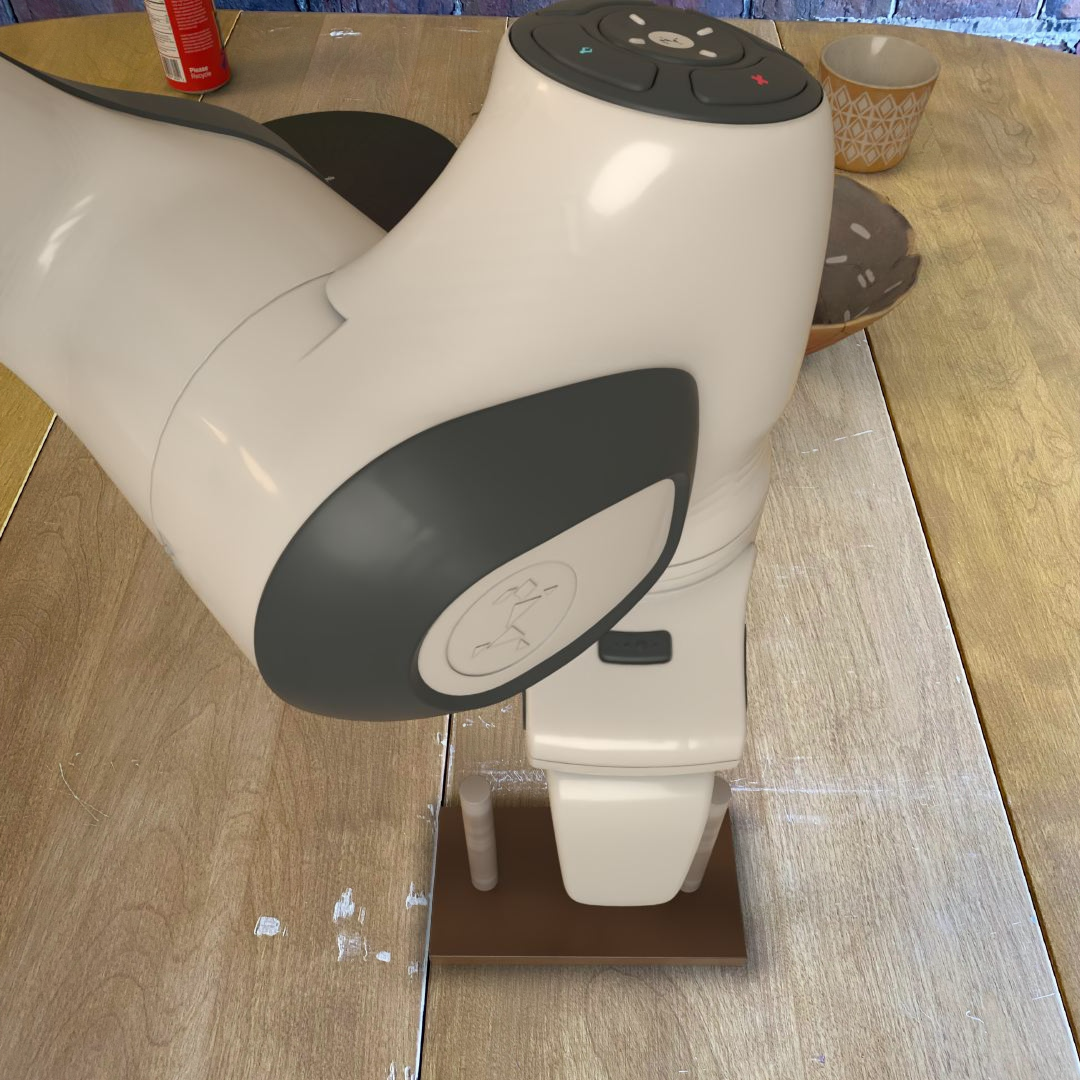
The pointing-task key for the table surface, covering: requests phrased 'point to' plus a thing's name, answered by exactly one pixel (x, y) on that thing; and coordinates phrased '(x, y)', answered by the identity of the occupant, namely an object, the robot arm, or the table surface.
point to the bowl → (862, 264)
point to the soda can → (189, 44)
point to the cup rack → (552, 915)
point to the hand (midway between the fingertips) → (602, 721)
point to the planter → (875, 97)
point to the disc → (369, 158)
